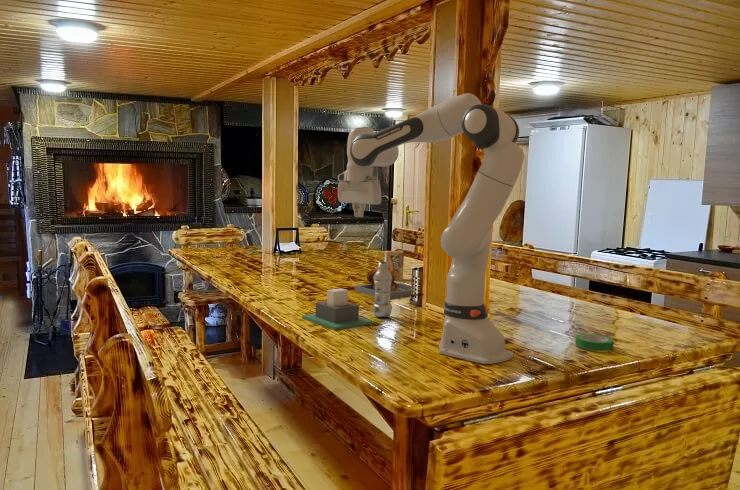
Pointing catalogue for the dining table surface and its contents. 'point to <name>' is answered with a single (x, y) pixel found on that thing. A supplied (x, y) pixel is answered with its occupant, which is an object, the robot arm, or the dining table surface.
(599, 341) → the tape roll
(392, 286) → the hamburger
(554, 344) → the dining table surface
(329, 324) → the header board
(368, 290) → the burger tray
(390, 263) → the candy box
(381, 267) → the plastic bottle
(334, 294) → the plug
